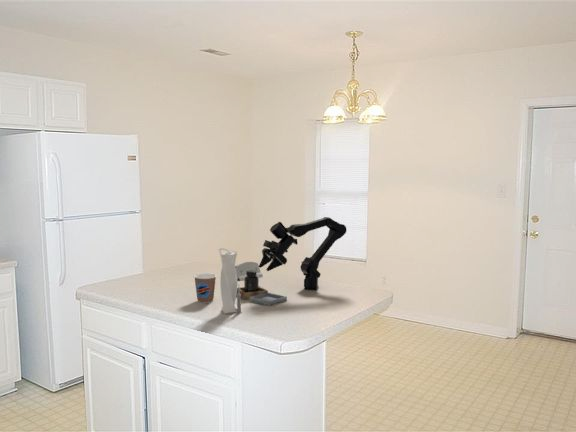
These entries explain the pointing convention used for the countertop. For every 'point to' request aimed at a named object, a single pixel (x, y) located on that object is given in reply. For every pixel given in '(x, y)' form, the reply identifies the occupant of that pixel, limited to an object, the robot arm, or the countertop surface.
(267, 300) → the tray
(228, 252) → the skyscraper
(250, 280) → the supplement bottle
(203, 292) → the coffee cup
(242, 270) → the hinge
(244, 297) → the slot holder
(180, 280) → the countertop surface
